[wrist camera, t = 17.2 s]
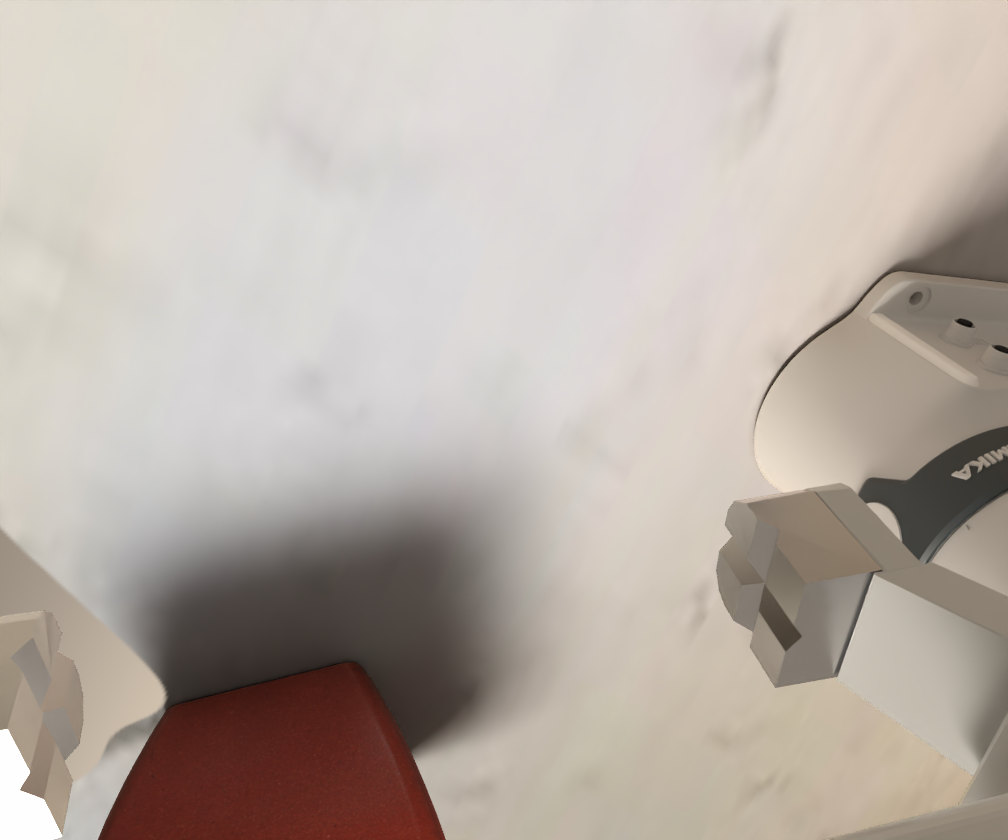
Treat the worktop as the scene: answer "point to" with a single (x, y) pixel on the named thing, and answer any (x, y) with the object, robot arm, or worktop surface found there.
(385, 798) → the plant pot
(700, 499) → the worktop surface
